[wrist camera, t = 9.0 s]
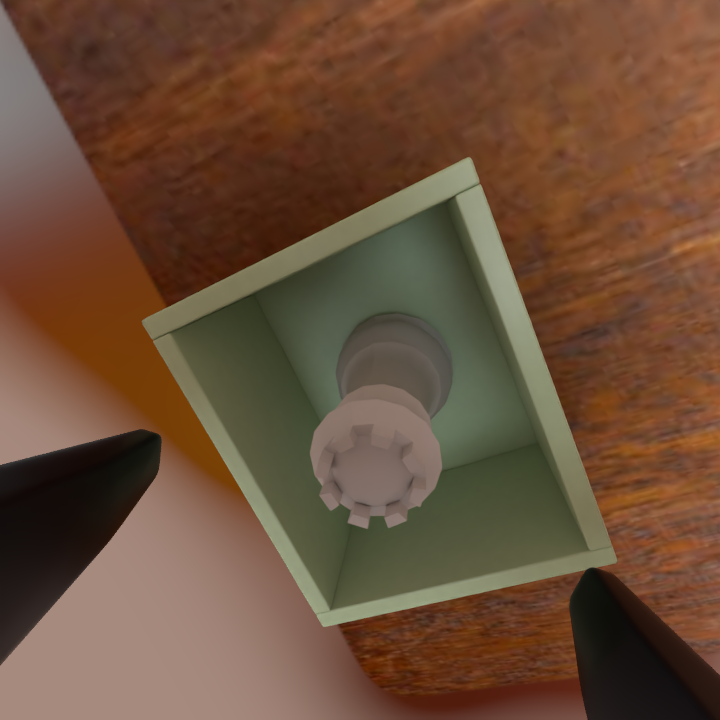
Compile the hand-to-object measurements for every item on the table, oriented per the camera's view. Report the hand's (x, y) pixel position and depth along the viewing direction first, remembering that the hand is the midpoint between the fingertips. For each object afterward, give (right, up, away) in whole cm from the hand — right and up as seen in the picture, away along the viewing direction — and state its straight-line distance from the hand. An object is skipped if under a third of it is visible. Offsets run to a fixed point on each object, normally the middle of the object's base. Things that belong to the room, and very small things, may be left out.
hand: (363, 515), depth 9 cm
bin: (+1, +3, +9) cm, 10 cm away
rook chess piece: (+1, +3, +9) cm, 9 cm away
